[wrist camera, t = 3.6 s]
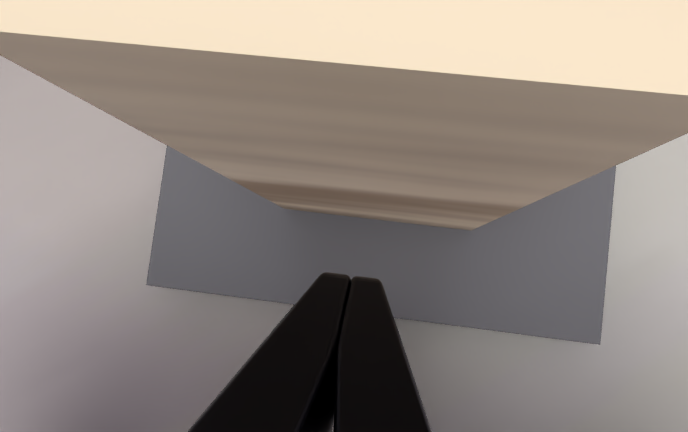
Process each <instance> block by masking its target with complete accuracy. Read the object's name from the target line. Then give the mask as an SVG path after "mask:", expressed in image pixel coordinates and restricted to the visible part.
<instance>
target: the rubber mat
mask: <svg viewBox="0 0 688 432" xmlns="http://www.w3.org/2000/svg"><path fill="white" fill-rule="evenodd" d="M615 171H616V166H613V167H611V168H609V169H607V170H605V171H602V172H600V173H598V174H596V175H593V176H591V177H589V178H587V179H585V180H582V181H580V182H578V183H576V184H573V185H571V186H569V187H567V188H565V189H562V190H560V191H558V192H556V193H553V194H551V195H549V196H547V197H545V198H542V199H540V200H538V201H536V202H533V203H531V204H529V205H527V206H525V207H522V208H520V209H518V210H516V211H513V212H511V213H509V214H507V215H505V216H502V217H500V218H498V219H496V220H493V221H491V222H489V223H487V224H485V225H482V226H480V227H478V228H476V229H473V230H463V229H454V228H445V227H437V226H428V225H420V224H411V223H403V222H394V221H385V220H377V219H368V218H360V217H351V216H342V215H334V214H325V213H317V212H308V211H300V210H291V209H284V208H282V207H280V206H278V205H277V204H275V203H273V202H271V201H269V200H267V199H265V198H264V197H262V196H260V195H258V194H256V193H254V192H252V191H251V190H249V189H247V188H245V187H243V186H241V185H240V184H238V183H236V182H234V181H232V180H230V179H228V178H227V177H225V176H223V175H221V174H219V173H217V172H215V171H214V170H212V169H210V168H208V167H206V166H204V165H203V164H201V163H199V162H197V161H195V160H193V159H191V158H190V157H188V156H186V155H184V154H182V153H180V152H178V151H177V150H175V149H173V148H171V147H169V146H167V149H166V156H165V163H164V169H163V176H162V183H161V190H160V196H159V203H158V210H157V216H156V223H155V230H154V237H153V243H152V250H151V257H150V264H149V270H148V277H147V284H146V285H151V286H158V287H166V288H173V289H181V290H189V291H196V292H204V293H211V294H219V295H227V296H234V297H242V298H249V299H257V300H265V301H272V302H280V303H287V304H296V303H297V301H298V300H299V299H300V298H301V297H302V295H303V294H304V293H305V292H306V291H307V289H308V288H309V287H310V286H311V285H312V284H313V282H314V281H315V280H316V279H317V278H318V277H319V275H321V274H322V273H324V272H329V273H337V274H345V275H348V276H349V277H350V278H351V279H352V278H353V277H355V276H361V277H369V278H376V279H379V280H380V281H381V282H382V284H383V287H384V290H385V293H386V296H387V299H388V302H389V305H390V308H391V311H392V314H393V317H394V318H402V319H409V320H417V321H424V322H432V323H440V324H447V325H455V326H462V327H470V328H478V329H485V330H493V331H500V332H508V333H516V334H523V335H531V336H538V337H546V338H554V339H561V340H569V341H577V342H584V343H592V344H599V345H600V341H601V330H602V318H603V307H604V296H605V284H606V273H607V262H608V250H609V239H610V228H611V216H612V205H613V194H614V182H615Z"/></svg>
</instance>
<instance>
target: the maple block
mask: <svg viewBox="0 0 688 432" xmlns="http://www.w3.org/2000/svg"><path fill="white" fill-rule="evenodd" d="M0 55H1V56H3V57H4V58H6V59H8V60H10V61H12V62H14V63H16V64H17V65H19V66H21V67H23V68H25V69H27V70H29V71H30V72H32V73H34V74H36V75H38V76H40V77H42V78H43V79H45V80H47V81H49V82H51V83H53V84H54V85H56V86H58V87H60V88H62V89H64V90H66V91H67V92H69V93H71V94H73V95H75V96H77V97H79V98H80V99H82V100H84V101H86V102H88V103H90V104H91V105H93V106H95V107H97V108H99V109H101V110H103V111H104V112H106V113H108V114H110V115H112V116H114V117H116V118H117V119H119V120H121V121H123V122H125V123H127V124H128V125H130V126H132V127H134V128H136V129H138V130H140V131H141V132H143V133H145V134H147V135H149V136H151V137H153V138H154V139H156V140H158V141H160V142H162V143H164V144H165V145H167V146H169V147H171V148H173V149H175V150H177V151H178V152H180V153H182V154H184V155H186V156H188V157H190V158H191V159H193V160H195V161H197V162H199V163H201V164H203V165H204V166H206V167H208V168H210V169H212V170H214V171H215V172H217V173H219V174H221V175H223V176H225V177H227V178H228V179H230V180H232V181H234V182H236V183H238V184H240V185H241V186H243V187H245V188H247V189H249V190H251V191H252V192H254V193H256V194H258V195H260V196H262V197H264V198H265V199H267V200H269V201H271V202H273V203H275V204H277V205H278V206H280V207H282V208H284V209H291V210H300V211H308V212H317V213H325V214H334V215H342V216H351V217H360V218H368V219H377V220H385V221H394V222H403V223H411V224H420V225H428V226H437V227H445V228H454V229H463V230H473V229H476V228H478V227H480V226H482V225H485V224H487V223H489V222H491V221H493V220H496V219H498V218H500V217H502V216H505V215H507V214H509V213H511V212H513V211H516V210H518V209H520V208H522V207H525V206H527V205H529V204H531V203H533V202H536V201H538V200H540V199H542V198H545V197H547V196H549V195H551V194H553V193H556V192H558V191H560V190H562V189H565V188H567V187H569V186H571V185H573V184H576V183H578V182H580V181H582V180H585V179H587V178H589V177H591V176H593V175H596V174H598V173H600V172H602V171H605V170H607V169H609V168H611V167H613V166H616V165H618V164H620V163H622V162H625V161H627V160H629V159H631V158H633V157H636V156H638V155H640V154H642V153H645V152H647V151H649V150H651V149H653V148H656V147H658V146H660V145H662V144H665V143H667V142H669V141H671V140H673V139H676V138H678V137H680V136H682V135H685V134H687V133H688V0H0Z"/></svg>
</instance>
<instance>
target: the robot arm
mask: <svg viewBox="0 0 688 432" xmlns="http://www.w3.org/2000/svg"><path fill="white" fill-rule="evenodd" d="M333 422H334V432H432V431H431V428H430V425H429V422H428V419H427V416H426V413H425V410H424V407H423V404H422V401H421V398H420V395H419V392H418V389H417V386H416V383H415V380H414V377H413V374H412V371H411V368H410V365H409V362H408V359H407V356H406V353H405V350H404V347H403V344H402V341H401V338H400V335H399V332H398V329H397V326H396V323H395V320H394V317H393V314H392V311H391V308H390V305H389V302H388V299H387V296H386V293H385V290H384V287H383V284H382V282H381V281H380V280H379V279H376V278H369V277H361V276H355V277H353V278H352V279H351V278H350V277H349V276H348V275H345V274H337V273H329V272H324V273H322V274H321V275H319V277H318V278H317V279H316V280H315V281H314V282H313V284H312V285H311V286H310V287H309V288H308V289H307V291H306V292H305V293H304V294H303V295H302V297H301V298H300V299H299V300H298V301H297V303H296V304H295V305H294V306H293V307H292V308H291V310H290V311H289V312H288V313H287V314H286V316H285V317H284V318H283V319H282V320H281V321H280V323H279V324H278V325H277V326H276V327H275V329H274V330H273V331H272V332H271V333H270V335H269V336H268V337H267V338H266V339H265V340H264V342H263V343H262V344H261V345H260V346H259V348H258V349H257V350H256V351H255V352H254V354H253V355H252V356H251V357H250V358H249V359H248V361H247V362H246V363H245V364H244V365H243V367H242V368H241V369H240V370H239V371H238V372H237V374H236V375H235V376H234V377H233V378H232V380H231V381H230V382H229V383H228V384H227V386H226V387H225V388H224V389H223V390H222V391H221V393H220V394H219V395H218V396H217V397H216V399H215V400H214V401H213V402H212V403H211V404H210V406H209V407H208V408H207V409H206V410H205V412H204V413H203V414H202V415H201V416H200V418H199V419H198V420H197V421H196V422H195V423H194V425H193V426H192V427H191V428H190V429H189V431H188V432H331V431H332V427H333Z"/></svg>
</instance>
